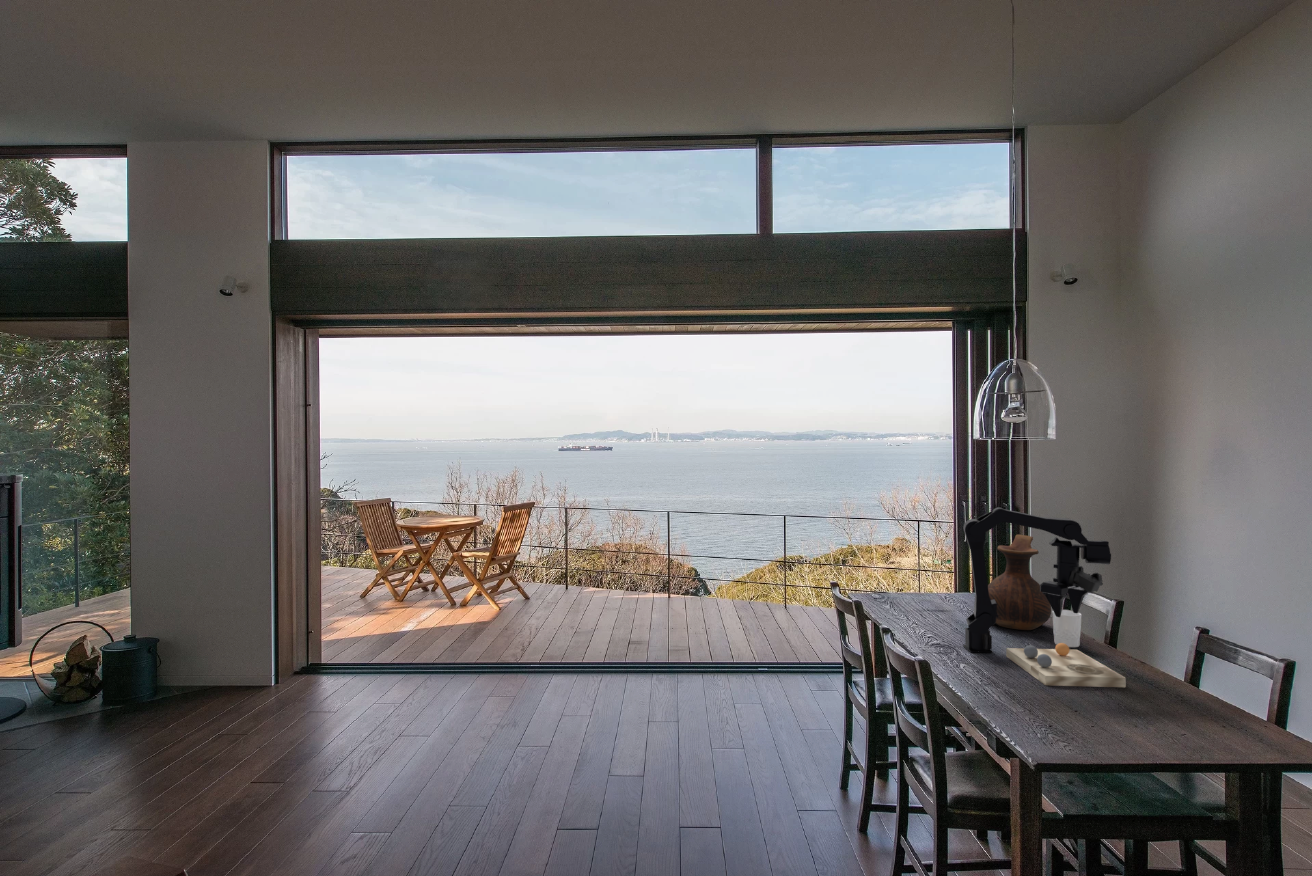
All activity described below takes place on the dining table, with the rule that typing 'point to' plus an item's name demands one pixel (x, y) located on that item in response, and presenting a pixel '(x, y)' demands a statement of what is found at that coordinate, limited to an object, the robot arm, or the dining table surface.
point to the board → (1067, 669)
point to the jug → (1019, 589)
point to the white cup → (1067, 628)
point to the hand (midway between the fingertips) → (1067, 615)
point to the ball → (1062, 649)
